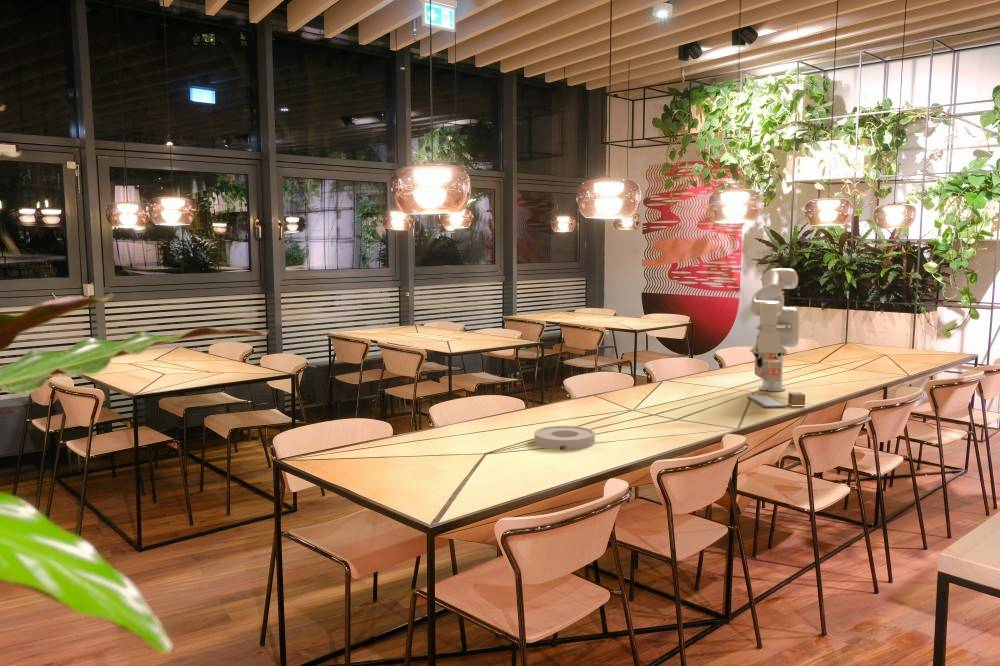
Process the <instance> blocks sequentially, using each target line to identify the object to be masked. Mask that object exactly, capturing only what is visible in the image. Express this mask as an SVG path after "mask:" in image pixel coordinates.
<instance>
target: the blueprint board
mask: <svg viewBox="0 0 1000 666" xmlns="http://www.w3.org/2000/svg"><path fill="white" fill-rule="evenodd" d="M747 397H748V398H750V399H751V400H750V399H749V400H750V401H752V400H753V401H755V402H756V403H755V402H754V403H755V404H757V403H758V404H759V405H758V404H757V405H758V406H760V405H761V407H762V406H763V407H787V408H788V405H787V404H785V403H783V402H781V401H779V400H777V399H775V398H774V397H772V396H770V395H767V394H765V395H764V394H763V395H747V396H746V398H747ZM748 398H747V399H748ZM753 401H752V402H753ZM763 407H762V408H763Z"/></svg>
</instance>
